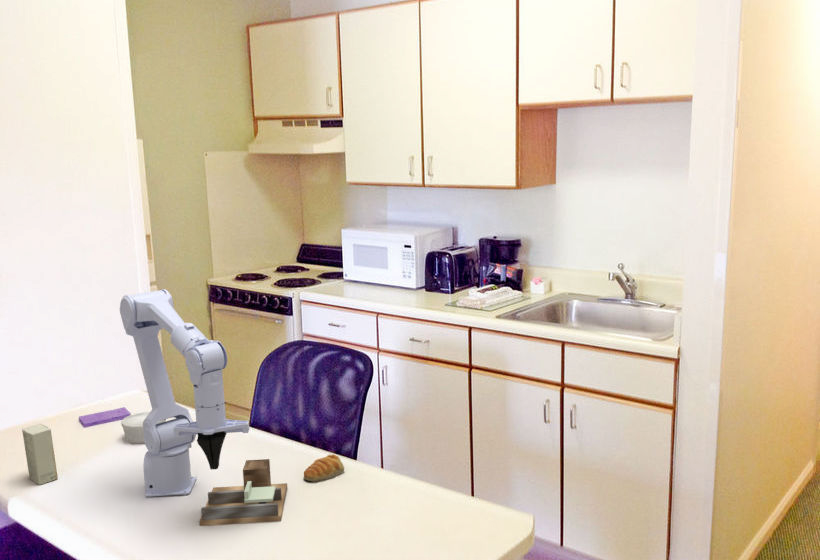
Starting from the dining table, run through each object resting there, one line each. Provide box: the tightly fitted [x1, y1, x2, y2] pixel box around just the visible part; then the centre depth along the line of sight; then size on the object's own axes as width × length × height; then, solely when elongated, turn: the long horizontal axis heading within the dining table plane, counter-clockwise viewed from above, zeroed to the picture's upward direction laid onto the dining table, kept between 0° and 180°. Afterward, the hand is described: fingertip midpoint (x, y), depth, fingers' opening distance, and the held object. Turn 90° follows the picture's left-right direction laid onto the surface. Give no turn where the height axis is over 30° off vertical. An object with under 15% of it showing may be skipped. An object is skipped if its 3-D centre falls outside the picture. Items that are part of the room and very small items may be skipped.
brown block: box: [242, 458, 272, 490], centre depth 161 cm, size 5×5×6 cm
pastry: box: [303, 454, 345, 483], centre depth 170 cm, size 9×7×4 cm
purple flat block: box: [78, 406, 132, 428], centre depth 210 cm, size 7×13×2 cm, turn 123°
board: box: [198, 482, 288, 527], centre depth 156 cm, size 16×15×3 cm
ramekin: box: [120, 411, 167, 445], centre depth 196 cm, size 11×11×5 cm
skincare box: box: [21, 423, 59, 486], centre depth 171 cm, size 6×4×12 cm
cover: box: [244, 481, 276, 503], centre depth 153 cm, size 6×6×2 cm
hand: (214, 467), depth 151 cm, fingers closed
